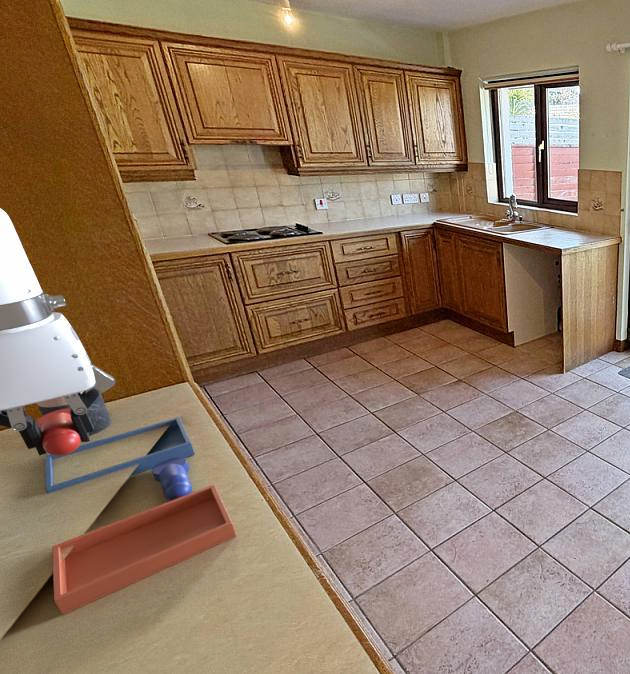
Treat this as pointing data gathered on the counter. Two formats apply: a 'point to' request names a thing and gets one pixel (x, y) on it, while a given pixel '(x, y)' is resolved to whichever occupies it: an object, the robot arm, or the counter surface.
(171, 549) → the terracotta tray
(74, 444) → the red spoon
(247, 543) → the counter surface
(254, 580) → the counter surface
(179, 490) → the blue lumpy rod
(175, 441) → the blue long rectangular frame
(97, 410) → the travel mug
